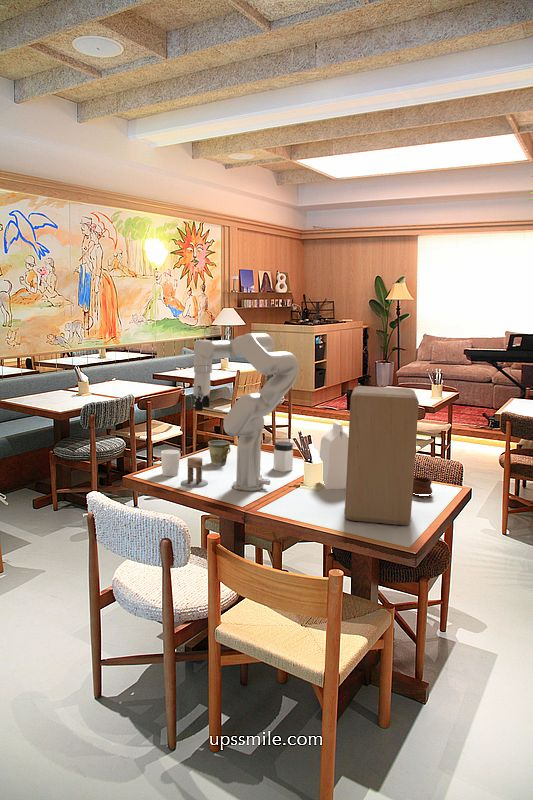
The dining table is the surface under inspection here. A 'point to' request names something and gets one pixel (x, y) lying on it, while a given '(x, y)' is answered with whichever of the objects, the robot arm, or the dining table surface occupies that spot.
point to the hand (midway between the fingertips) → (202, 408)
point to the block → (381, 454)
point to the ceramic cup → (219, 451)
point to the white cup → (170, 462)
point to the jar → (283, 456)
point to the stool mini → (196, 463)
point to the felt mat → (194, 483)
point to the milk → (334, 457)
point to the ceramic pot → (422, 487)
